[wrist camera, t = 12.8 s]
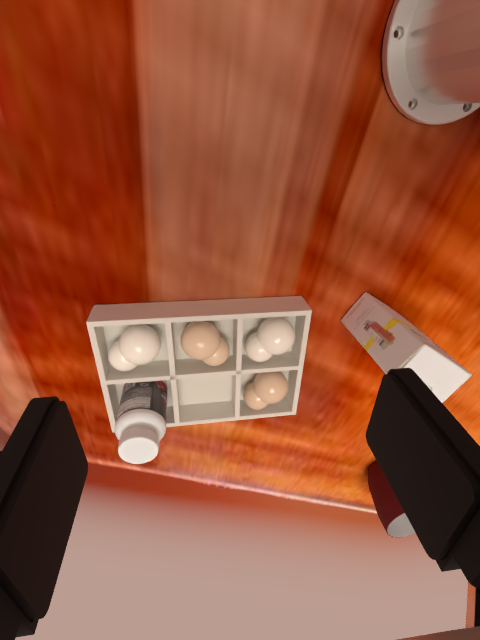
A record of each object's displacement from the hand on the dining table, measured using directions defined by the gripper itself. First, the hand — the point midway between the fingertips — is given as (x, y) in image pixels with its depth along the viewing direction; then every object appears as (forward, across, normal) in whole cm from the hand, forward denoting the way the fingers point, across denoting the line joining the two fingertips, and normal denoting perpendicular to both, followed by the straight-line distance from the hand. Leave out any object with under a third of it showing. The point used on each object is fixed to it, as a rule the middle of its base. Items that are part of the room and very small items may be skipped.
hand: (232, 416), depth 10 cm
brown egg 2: (+26, -7, +22) cm, 35 cm away
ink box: (+28, -21, +15) cm, 38 cm away
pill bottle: (+26, +8, +22) cm, 35 cm away
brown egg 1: (+26, +1, +14) cm, 30 cm away
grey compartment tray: (+27, +1, +18) cm, 32 cm away
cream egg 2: (+26, -7, +14) cm, 31 cm away
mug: (+27, -30, +45) cm, 60 cm away
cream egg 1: (+26, +8, +14) cm, 31 cm away
